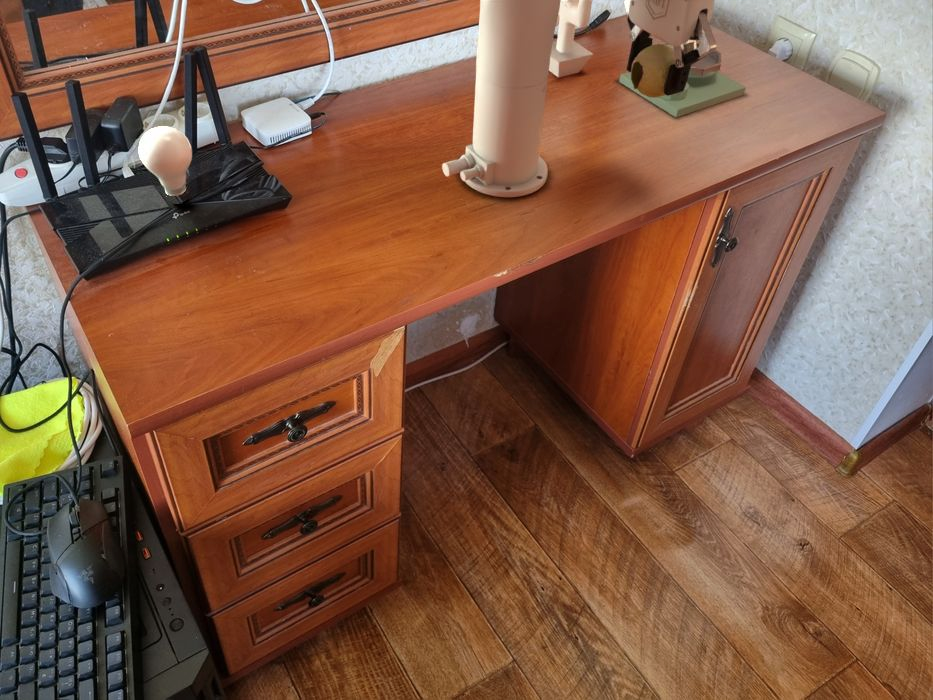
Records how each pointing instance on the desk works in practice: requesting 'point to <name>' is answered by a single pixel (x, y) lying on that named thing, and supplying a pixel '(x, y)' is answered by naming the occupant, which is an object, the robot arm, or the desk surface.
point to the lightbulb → (167, 157)
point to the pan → (704, 64)
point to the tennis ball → (652, 70)
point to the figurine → (570, 38)
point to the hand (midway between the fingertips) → (654, 79)
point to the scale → (693, 93)
